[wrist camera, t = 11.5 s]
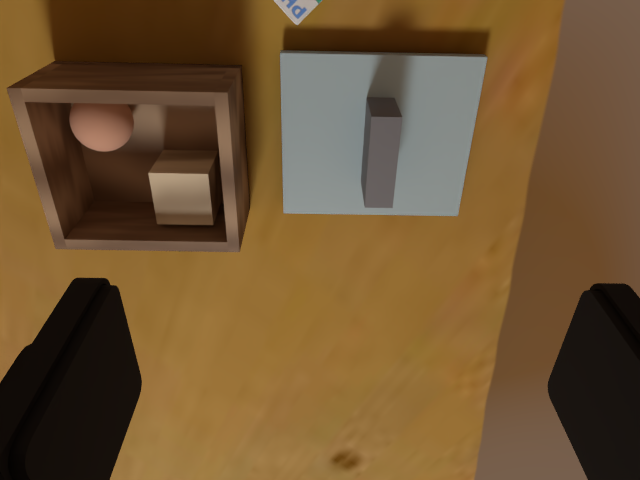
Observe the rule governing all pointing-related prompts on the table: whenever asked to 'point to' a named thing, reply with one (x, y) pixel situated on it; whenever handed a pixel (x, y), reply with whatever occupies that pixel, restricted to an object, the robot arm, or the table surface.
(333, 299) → the table surface
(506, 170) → the table surface
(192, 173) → the block load
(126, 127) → the ball load
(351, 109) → the lid
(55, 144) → the crate
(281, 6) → the light bulb box
